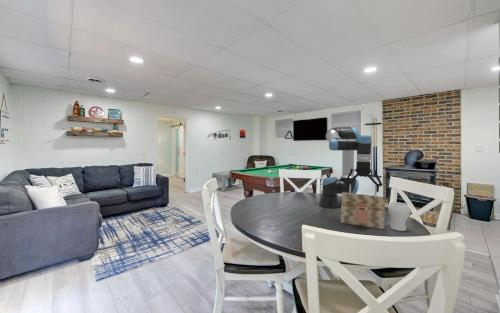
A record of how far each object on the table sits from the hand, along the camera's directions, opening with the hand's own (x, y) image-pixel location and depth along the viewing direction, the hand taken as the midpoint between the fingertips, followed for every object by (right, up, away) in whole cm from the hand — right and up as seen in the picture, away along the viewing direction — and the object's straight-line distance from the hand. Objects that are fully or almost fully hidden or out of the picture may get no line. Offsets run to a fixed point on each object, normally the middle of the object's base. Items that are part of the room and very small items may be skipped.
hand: (362, 196), depth 129 cm
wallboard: (+3, -19, +7) cm, 21 cm away
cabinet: (+1, -15, +3) cm, 16 cm away
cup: (+22, -20, 0) cm, 30 cm away
